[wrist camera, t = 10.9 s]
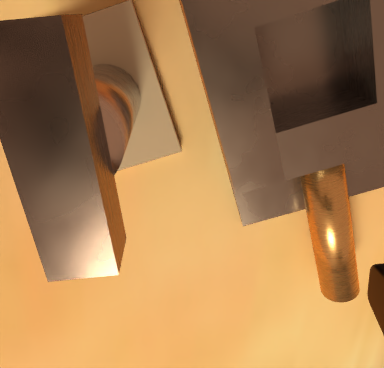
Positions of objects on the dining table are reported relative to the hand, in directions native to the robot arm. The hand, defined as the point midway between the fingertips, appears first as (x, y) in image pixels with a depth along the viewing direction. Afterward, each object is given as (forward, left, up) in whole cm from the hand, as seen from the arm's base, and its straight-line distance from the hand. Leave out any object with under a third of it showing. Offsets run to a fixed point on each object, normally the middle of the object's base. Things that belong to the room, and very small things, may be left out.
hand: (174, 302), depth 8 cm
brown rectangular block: (-3, -3, -13) cm, 13 cm away
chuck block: (+3, +7, -13) cm, 16 cm away
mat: (-3, -3, -14) cm, 14 cm away
